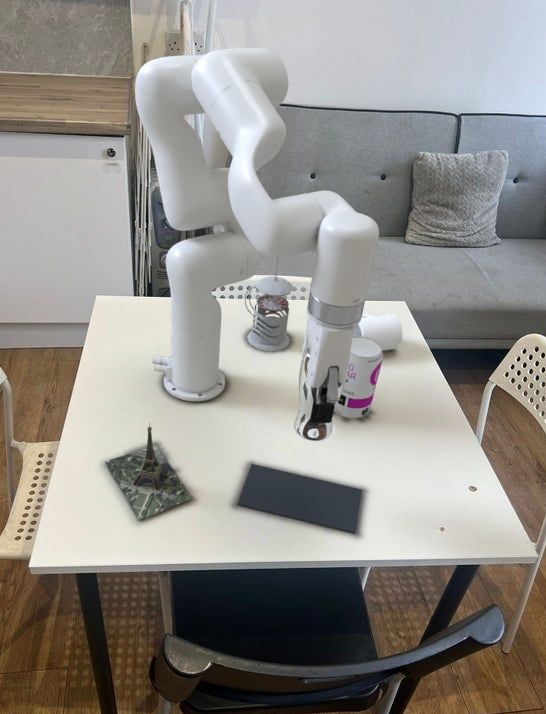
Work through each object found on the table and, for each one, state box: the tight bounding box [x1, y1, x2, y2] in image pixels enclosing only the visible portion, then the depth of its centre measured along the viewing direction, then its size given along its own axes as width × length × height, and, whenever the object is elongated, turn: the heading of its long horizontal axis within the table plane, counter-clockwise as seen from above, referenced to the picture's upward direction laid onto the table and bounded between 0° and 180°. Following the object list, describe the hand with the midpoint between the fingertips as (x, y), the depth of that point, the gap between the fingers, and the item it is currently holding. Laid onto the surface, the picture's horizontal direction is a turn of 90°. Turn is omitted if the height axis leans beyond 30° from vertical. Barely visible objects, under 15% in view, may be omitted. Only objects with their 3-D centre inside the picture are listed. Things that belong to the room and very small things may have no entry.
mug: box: [353, 313, 403, 352], centre depth 146 cm, size 12×10×8 cm
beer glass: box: [293, 344, 349, 442], centre depth 96 cm, size 7×7×15 cm
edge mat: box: [236, 463, 363, 535], centre depth 109 cm, size 20×10×1 cm, turn 77°
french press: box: [244, 259, 294, 352], centre depth 139 cm, size 10×12×25 cm
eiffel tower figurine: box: [104, 421, 194, 521], centre depth 105 cm, size 15×10×13 cm
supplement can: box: [334, 336, 384, 420], centre depth 125 cm, size 8×8×15 cm
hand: (316, 405), depth 98 cm, fingers closed on beer glass, 6 cm apart
